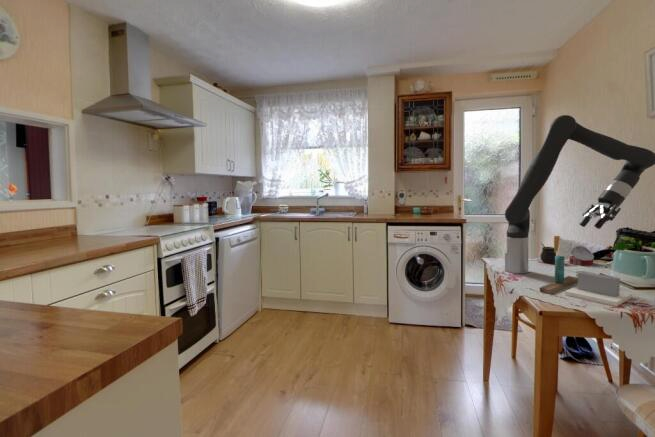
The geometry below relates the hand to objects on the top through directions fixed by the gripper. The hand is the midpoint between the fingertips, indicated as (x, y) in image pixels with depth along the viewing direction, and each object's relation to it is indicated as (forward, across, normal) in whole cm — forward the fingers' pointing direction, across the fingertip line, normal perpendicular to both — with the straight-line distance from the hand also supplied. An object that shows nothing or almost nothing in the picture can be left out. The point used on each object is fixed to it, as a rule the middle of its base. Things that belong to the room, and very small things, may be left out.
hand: (588, 226), depth 138 cm
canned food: (+6, -34, +30) cm, 45 cm away
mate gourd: (+14, -39, +19) cm, 46 cm away
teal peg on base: (+27, 0, +6) cm, 28 cm away
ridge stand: (+23, +13, +11) cm, 29 cm away
